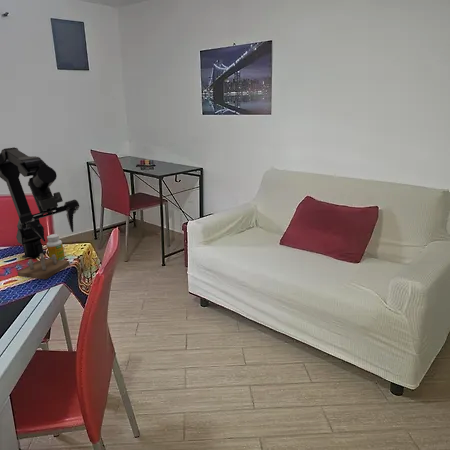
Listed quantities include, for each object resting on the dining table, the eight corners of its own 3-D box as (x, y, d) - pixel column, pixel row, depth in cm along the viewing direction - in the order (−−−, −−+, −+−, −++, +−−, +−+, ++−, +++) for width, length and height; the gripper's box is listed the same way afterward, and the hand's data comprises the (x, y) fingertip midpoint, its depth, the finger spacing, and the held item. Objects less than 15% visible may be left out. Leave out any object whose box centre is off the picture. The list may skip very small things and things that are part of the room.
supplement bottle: (59, 263, 149) (54, 238, 146) (47, 262, 150) (41, 238, 147) (68, 257, 154) (63, 233, 151) (55, 256, 155) (50, 233, 152)
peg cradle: (18, 276, 140) (15, 262, 139) (43, 262, 151) (40, 249, 149) (46, 279, 136) (43, 265, 135) (69, 264, 147) (67, 252, 145)
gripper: (11, 194, 123) (29, 242, 123) (72, 178, 132) (89, 222, 132) (12, 203, 133) (29, 247, 133) (69, 188, 142) (85, 229, 141)
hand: (59, 236), depth 134 cm, fingers open, 9 cm apart
